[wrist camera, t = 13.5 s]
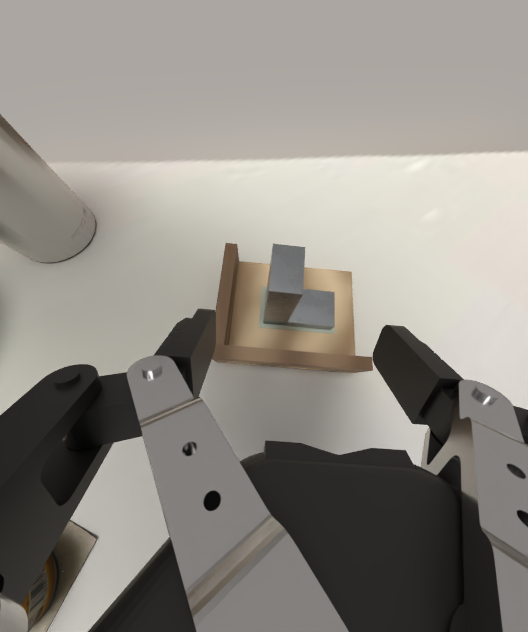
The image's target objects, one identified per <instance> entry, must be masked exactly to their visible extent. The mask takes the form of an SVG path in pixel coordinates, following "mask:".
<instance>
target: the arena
mask: <svg viewBox="0 0 528 632" xmlns="http://www.w3.org/2000/svg"><path fill="white" fill-rule="evenodd" d="M269 269H270V264H261V263H250V262H239V266H238V274H237V282H236V290H235V298H234V306H233V314H232V322H231V330H230V338H229V345H231V346H243V347H255V348H267V349H279V350H291V351H303V352H315V353H327V354H339V355H351V356H355V342H354V319H353V297H352V275H351V272H347V271H336V270H325V269H314V268H304V282H303V289H311V290H321V291H330V292H335V327H334V328H332V329H331V330H323V329H314V328H304V327H294V326H284V325H274V324H264V323H263V321H264V310H265V300H266V290H267V283H268V276H269ZM216 362H223V361H216ZM225 363H235V362H225ZM237 364H247V363H237ZM249 365H259V364H249ZM262 366H271V365H262ZM274 367H284V366H274ZM286 368H296V367H286ZM298 369H308V368H298ZM311 370H320V369H311ZM323 371H332V370H323ZM335 372H345V371H335ZM347 373H355V372H347Z"/></svg>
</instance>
